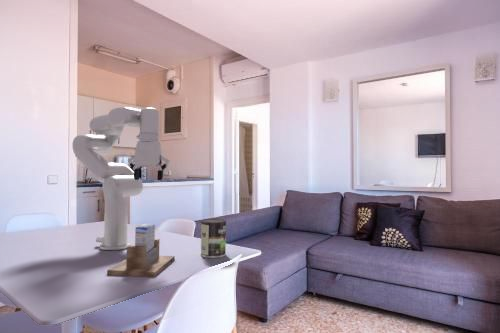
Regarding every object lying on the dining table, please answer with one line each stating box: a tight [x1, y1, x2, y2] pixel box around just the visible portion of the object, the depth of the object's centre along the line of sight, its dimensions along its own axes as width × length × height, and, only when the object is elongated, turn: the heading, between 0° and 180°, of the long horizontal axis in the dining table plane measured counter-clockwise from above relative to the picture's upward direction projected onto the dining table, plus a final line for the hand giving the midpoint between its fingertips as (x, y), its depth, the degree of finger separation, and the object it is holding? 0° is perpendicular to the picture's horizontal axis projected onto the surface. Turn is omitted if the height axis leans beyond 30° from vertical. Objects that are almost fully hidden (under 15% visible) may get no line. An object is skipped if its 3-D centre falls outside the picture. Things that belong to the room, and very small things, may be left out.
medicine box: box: [134, 223, 156, 252], centre depth 115 cm, size 8×4×9 cm, turn 179°
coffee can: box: [200, 218, 227, 259], centre depth 133 cm, size 10×10×14 cm
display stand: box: [106, 238, 176, 278], centre depth 115 cm, size 16×20×8 cm
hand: (148, 180), depth 133 cm, fingers open, 9 cm apart
